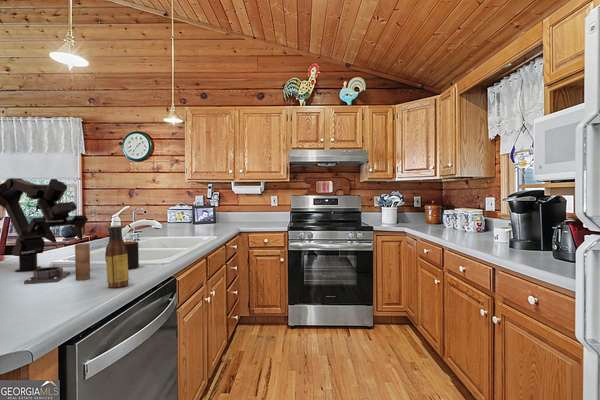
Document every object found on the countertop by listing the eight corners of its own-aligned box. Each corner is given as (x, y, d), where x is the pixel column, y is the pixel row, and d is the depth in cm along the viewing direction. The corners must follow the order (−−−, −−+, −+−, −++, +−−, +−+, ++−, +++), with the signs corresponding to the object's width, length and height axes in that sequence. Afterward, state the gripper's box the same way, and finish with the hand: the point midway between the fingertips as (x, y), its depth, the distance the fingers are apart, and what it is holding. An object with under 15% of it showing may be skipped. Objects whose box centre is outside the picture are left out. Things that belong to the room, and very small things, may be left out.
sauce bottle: (132, 283, 117) (131, 225, 117) (123, 288, 111) (122, 226, 111) (112, 283, 117) (111, 225, 117) (102, 288, 111) (101, 227, 111)
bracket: (39, 276, 128) (39, 266, 128) (70, 274, 131) (70, 264, 131) (23, 284, 117) (23, 273, 117) (58, 281, 120) (58, 271, 120)
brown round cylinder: (78, 278, 125) (77, 243, 125) (91, 277, 126) (91, 243, 126) (73, 281, 121) (73, 245, 121) (88, 280, 122) (87, 244, 122)
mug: (105, 268, 141) (104, 243, 141) (137, 265, 147) (137, 240, 147) (106, 272, 134) (105, 245, 134) (139, 268, 140) (139, 243, 140)
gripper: (31, 195, 120) (49, 228, 116) (84, 194, 137) (102, 223, 132) (19, 217, 124) (37, 249, 119) (73, 214, 141) (90, 242, 136)
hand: (68, 240), depth 127 cm, fingers open, 9 cm apart
